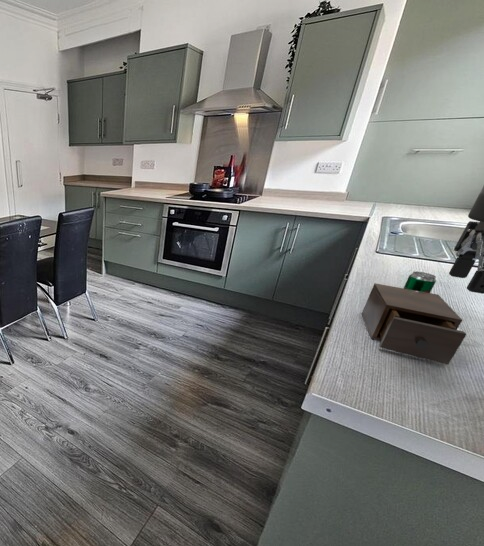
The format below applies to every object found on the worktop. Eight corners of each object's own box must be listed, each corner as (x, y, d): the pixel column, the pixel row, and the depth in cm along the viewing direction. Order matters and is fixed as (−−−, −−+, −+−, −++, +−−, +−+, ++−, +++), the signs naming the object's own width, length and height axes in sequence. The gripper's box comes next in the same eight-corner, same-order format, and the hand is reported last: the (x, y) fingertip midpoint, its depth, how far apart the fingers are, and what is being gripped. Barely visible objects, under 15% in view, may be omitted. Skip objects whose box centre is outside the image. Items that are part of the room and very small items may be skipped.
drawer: (450, 368, 65) (469, 337, 62) (381, 350, 70) (395, 320, 67) (427, 334, 76) (442, 307, 73) (369, 321, 82) (381, 295, 79)
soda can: (391, 307, 91) (408, 269, 86) (415, 312, 88) (434, 273, 84) (395, 314, 87) (413, 275, 82) (420, 319, 85) (441, 279, 80)
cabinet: (441, 356, 70) (462, 320, 66) (371, 339, 76) (386, 304, 72) (421, 327, 81) (438, 294, 77) (361, 313, 87) (374, 283, 83)
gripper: (585, 202, 43) (518, 304, 50) (527, 191, 54) (478, 276, 61) (503, 196, 47) (450, 292, 53) (464, 187, 58) (424, 267, 64)
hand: (465, 283), depth 57 cm, fingers open, 8 cm apart
